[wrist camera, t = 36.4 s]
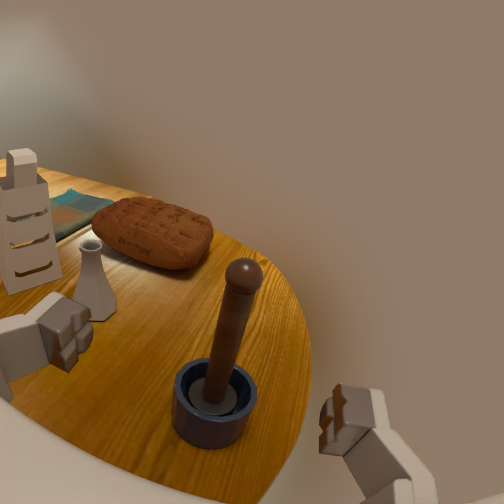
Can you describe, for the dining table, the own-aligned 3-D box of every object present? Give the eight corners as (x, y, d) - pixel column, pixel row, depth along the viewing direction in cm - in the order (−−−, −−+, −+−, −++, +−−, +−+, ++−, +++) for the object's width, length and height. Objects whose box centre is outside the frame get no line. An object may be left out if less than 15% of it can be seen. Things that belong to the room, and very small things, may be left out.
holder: (254, 441, 28) (270, 412, 25) (182, 454, 24) (186, 427, 22) (229, 387, 34) (240, 354, 31) (165, 394, 30) (167, 360, 28)
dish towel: (117, 210, 71) (118, 200, 70) (55, 245, 50) (54, 233, 49) (70, 196, 73) (70, 187, 72) (7, 223, 52) (7, 213, 50)
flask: (107, 327, 37) (105, 264, 33) (62, 315, 36) (55, 252, 32) (123, 297, 43) (125, 238, 39) (82, 287, 42) (79, 229, 38)
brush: (236, 430, 28) (295, 279, 20) (192, 437, 26) (225, 280, 18) (221, 395, 32) (265, 244, 24) (180, 400, 30) (205, 242, 22)
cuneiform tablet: (83, 250, 52) (83, 210, 48) (128, 221, 67) (131, 188, 64) (187, 287, 50) (194, 244, 47) (216, 248, 66) (223, 213, 62)
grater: (43, 250, 48) (42, 143, 39) (63, 277, 43) (61, 154, 35) (-4, 264, 39) (-13, 151, 31) (8, 295, 35) (-7, 164, 26)
